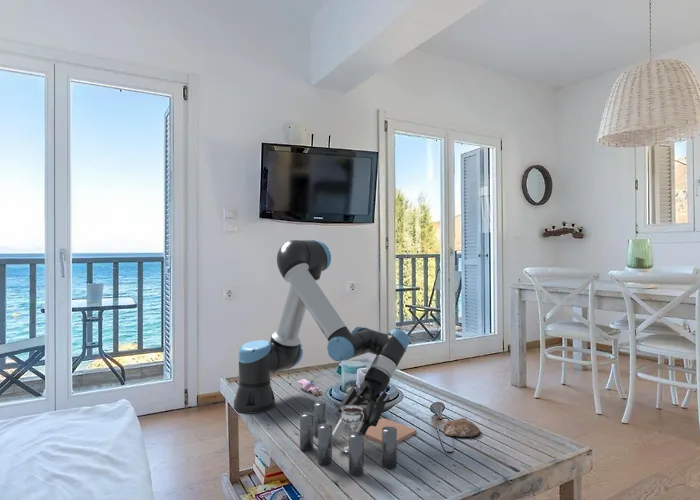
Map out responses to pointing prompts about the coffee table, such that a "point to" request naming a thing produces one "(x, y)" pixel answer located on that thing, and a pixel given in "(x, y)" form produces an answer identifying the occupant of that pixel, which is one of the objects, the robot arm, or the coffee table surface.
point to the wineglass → (351, 417)
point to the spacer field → (318, 428)
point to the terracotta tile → (402, 430)
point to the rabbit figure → (310, 387)
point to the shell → (461, 429)
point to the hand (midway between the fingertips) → (343, 440)
